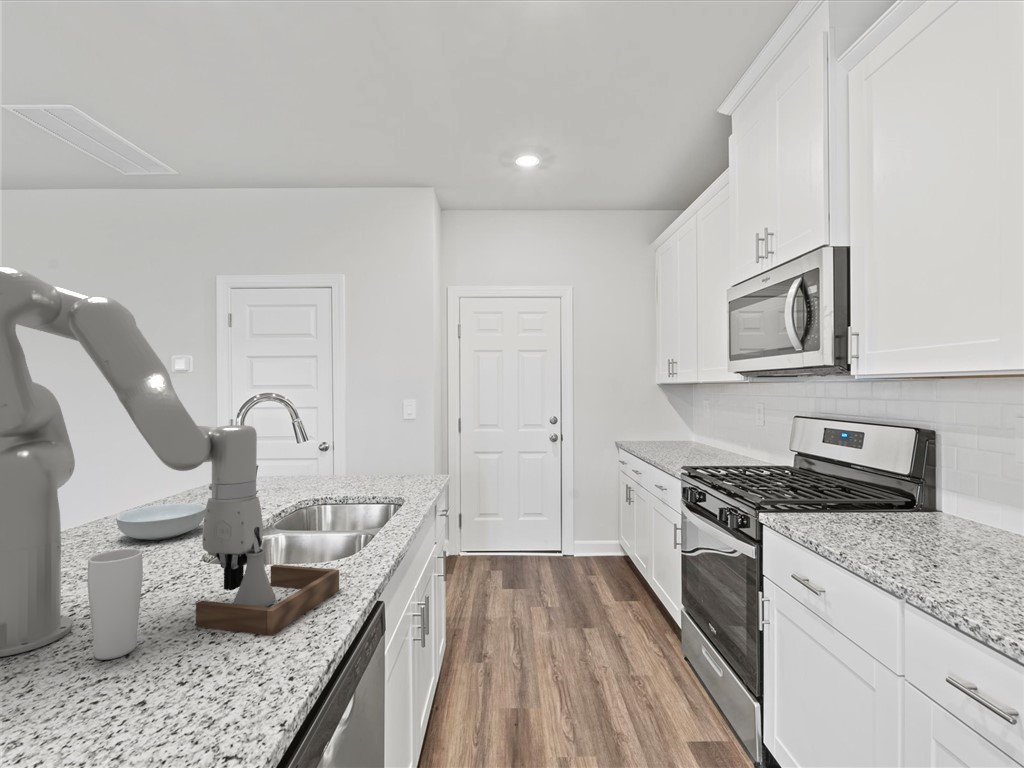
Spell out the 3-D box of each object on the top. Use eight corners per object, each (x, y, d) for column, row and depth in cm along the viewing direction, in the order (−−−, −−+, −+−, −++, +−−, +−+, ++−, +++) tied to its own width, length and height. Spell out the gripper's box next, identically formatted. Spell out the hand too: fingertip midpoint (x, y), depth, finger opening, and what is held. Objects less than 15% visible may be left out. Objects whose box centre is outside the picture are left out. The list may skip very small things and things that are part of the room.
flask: (260, 614, 93) (262, 559, 93) (223, 610, 94) (224, 556, 94) (282, 597, 101) (284, 546, 101) (248, 594, 101) (249, 543, 101)
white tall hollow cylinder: (135, 637, 85) (135, 545, 85) (148, 650, 80) (148, 553, 81) (82, 654, 79) (82, 556, 80) (93, 669, 75) (94, 565, 75)
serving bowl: (95, 544, 137) (95, 517, 137) (166, 524, 157) (166, 501, 158) (159, 549, 132) (159, 522, 132) (223, 528, 152) (223, 504, 153)
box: (272, 635, 85) (272, 611, 85) (195, 626, 89) (195, 603, 89) (339, 589, 105) (339, 569, 105) (274, 583, 108) (274, 564, 108)
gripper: (185, 492, 97) (184, 591, 97) (253, 496, 93) (253, 598, 93) (217, 485, 104) (216, 577, 104) (281, 488, 101) (281, 583, 100)
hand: (233, 587), depth 98 cm, fingers closed
